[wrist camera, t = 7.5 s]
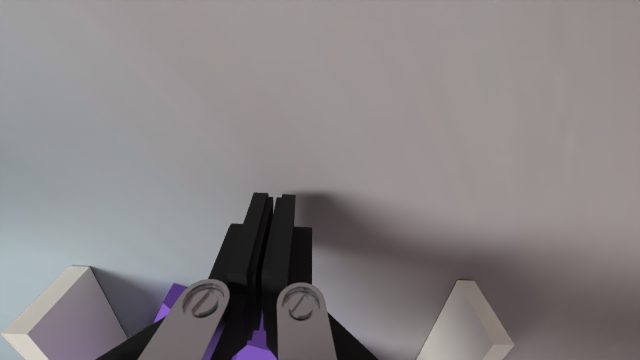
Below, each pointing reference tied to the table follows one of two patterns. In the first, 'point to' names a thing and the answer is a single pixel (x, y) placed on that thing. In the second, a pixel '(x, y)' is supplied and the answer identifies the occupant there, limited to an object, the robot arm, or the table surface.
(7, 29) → the table surface
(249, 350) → the bracket
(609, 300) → the table surface
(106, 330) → the white u-shaped fence
